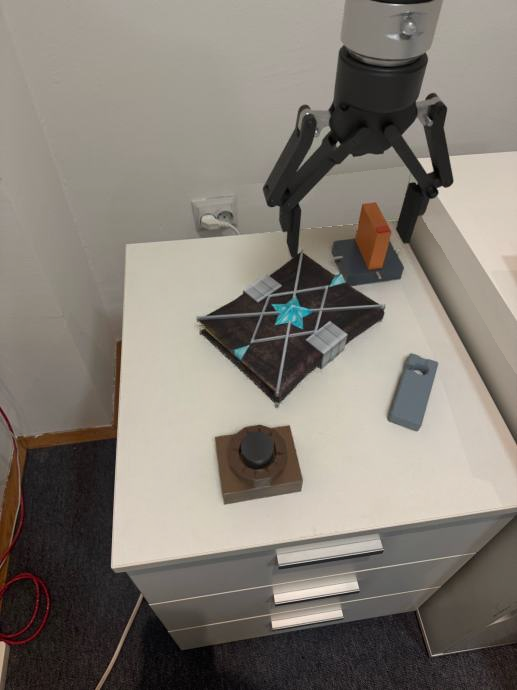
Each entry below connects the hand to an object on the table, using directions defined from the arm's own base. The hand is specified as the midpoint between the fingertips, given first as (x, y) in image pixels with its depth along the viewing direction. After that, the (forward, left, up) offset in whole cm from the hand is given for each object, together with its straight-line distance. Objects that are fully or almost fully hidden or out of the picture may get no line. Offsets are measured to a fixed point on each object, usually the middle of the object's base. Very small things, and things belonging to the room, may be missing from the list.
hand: (347, 243), depth 58 cm
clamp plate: (+2, -15, -16) cm, 22 cm away
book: (+5, +3, -16) cm, 17 cm away
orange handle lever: (+2, -15, -14) cm, 20 cm away
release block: (-3, +24, -16) cm, 29 cm away
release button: (-3, +24, -12) cm, 27 cm away
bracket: (-14, +4, -16) cm, 22 cm away
